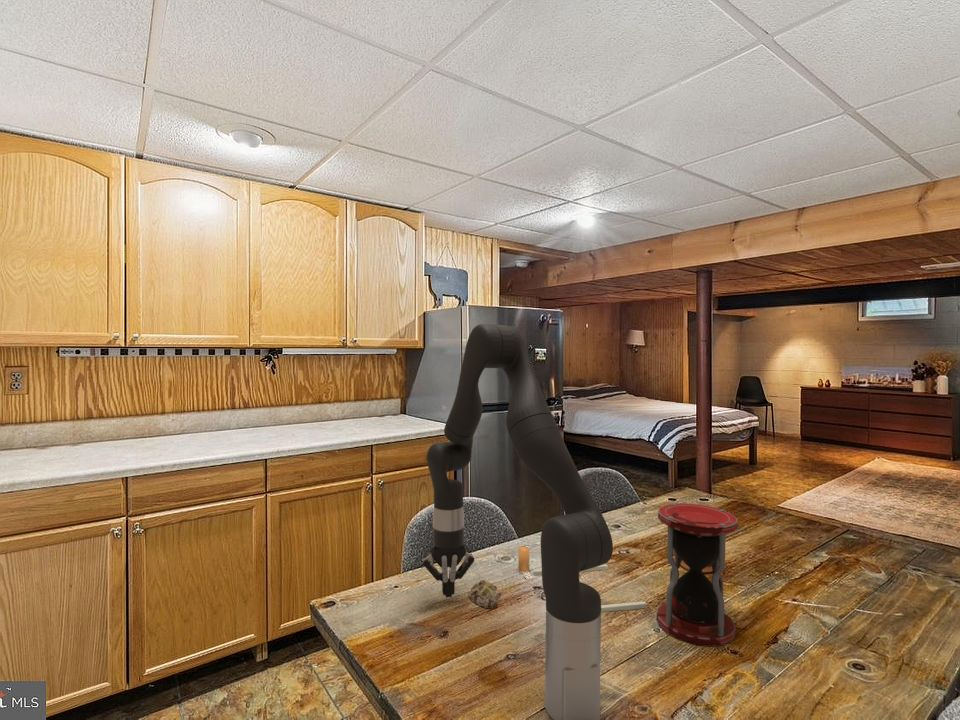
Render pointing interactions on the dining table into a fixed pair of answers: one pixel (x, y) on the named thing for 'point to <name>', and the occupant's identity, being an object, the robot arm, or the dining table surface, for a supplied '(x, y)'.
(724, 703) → the dining table surface
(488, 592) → the mineral rock
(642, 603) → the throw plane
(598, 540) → the robot arm
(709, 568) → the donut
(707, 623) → the hourglass
